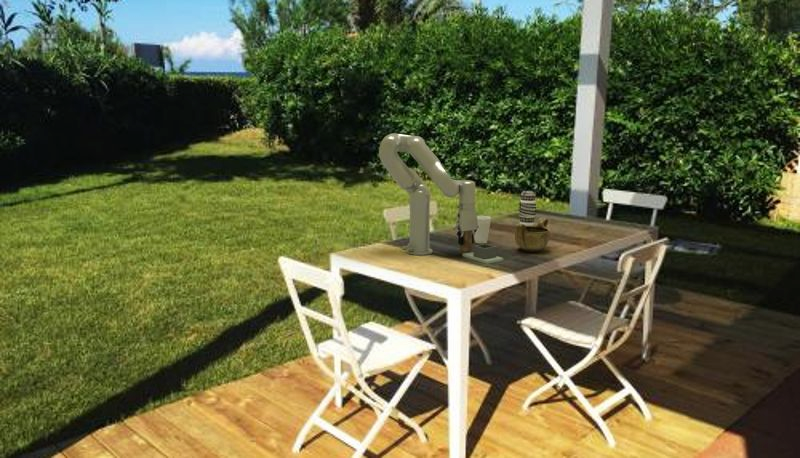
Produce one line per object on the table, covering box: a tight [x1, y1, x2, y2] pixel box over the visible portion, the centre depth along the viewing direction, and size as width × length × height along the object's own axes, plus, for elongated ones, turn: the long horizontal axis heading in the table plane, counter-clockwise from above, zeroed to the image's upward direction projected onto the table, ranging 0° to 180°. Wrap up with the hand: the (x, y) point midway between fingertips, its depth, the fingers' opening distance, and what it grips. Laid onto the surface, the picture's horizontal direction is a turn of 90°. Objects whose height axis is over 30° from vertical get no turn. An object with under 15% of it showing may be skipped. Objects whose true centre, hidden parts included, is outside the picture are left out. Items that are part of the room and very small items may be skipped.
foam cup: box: [474, 215, 492, 244], centre depth 344 cm, size 10×9×13 cm
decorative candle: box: [518, 190, 537, 226], centre depth 354 cm, size 9×9×25 cm
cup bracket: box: [462, 243, 504, 264], centre depth 311 cm, size 10×17×6 cm, turn 35°
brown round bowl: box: [514, 217, 550, 253], centre depth 326 cm, size 22×17×15 cm
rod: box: [459, 230, 473, 255], centre depth 320 cm, size 4×4×14 cm
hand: (465, 243), depth 320 cm, fingers open, 5 cm apart
